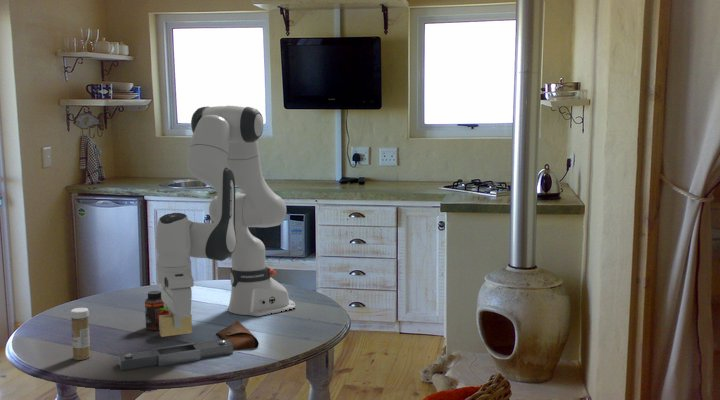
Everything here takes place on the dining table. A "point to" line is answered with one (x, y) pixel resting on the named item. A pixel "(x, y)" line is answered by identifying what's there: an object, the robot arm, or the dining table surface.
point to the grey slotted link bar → (175, 354)
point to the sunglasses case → (238, 336)
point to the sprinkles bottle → (80, 333)
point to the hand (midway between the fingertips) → (175, 325)
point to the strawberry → (163, 312)
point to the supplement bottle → (153, 309)
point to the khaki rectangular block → (168, 326)
